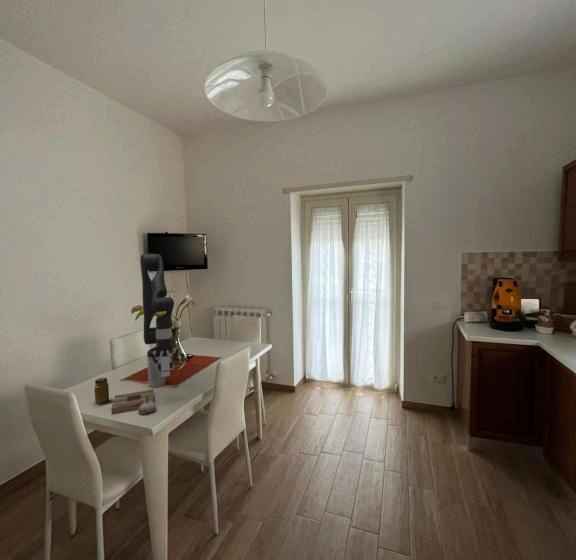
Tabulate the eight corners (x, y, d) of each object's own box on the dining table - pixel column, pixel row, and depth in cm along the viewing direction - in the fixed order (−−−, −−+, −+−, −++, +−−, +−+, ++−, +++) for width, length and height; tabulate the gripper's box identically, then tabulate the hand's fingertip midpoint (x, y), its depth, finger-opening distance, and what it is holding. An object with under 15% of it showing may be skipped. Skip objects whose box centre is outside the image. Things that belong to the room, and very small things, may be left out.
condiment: (93, 402, 157) (92, 379, 157) (112, 397, 163) (111, 375, 162) (95, 407, 152) (94, 383, 151) (115, 402, 157) (114, 379, 156)
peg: (161, 374, 159) (160, 355, 158) (169, 372, 161) (168, 354, 160) (161, 377, 155) (160, 357, 155) (170, 375, 157) (169, 356, 156)
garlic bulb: (159, 409, 149) (158, 393, 148) (148, 416, 142) (148, 399, 141) (145, 407, 151) (145, 391, 150) (134, 414, 144) (134, 398, 143)
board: (115, 401, 158) (115, 395, 158) (153, 394, 165) (153, 389, 165) (111, 414, 144) (111, 408, 144) (153, 406, 151) (153, 400, 151)
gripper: (178, 333, 163) (179, 365, 164) (148, 336, 157) (150, 369, 159) (179, 336, 156) (180, 370, 157) (148, 340, 150) (150, 374, 152)
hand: (165, 369), depth 158 cm, fingers closed on peg, 4 cm apart
